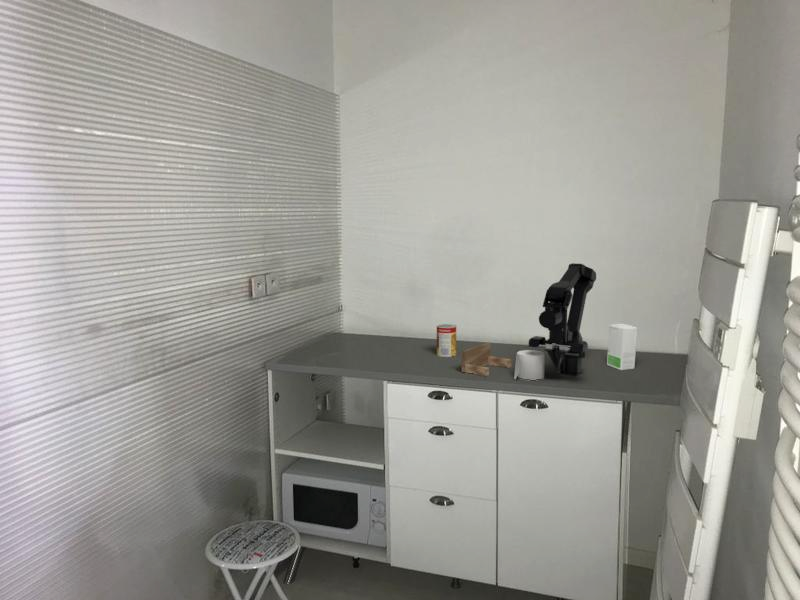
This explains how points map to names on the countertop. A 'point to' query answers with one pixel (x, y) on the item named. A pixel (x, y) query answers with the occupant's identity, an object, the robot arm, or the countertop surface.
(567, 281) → the robot arm
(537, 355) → the toilet tissue
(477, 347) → the roll cradle
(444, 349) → the canned food
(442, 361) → the countertop surface
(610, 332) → the skincare box
